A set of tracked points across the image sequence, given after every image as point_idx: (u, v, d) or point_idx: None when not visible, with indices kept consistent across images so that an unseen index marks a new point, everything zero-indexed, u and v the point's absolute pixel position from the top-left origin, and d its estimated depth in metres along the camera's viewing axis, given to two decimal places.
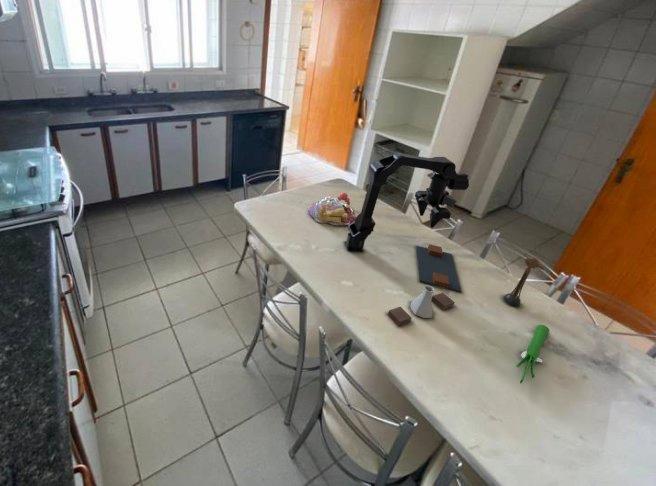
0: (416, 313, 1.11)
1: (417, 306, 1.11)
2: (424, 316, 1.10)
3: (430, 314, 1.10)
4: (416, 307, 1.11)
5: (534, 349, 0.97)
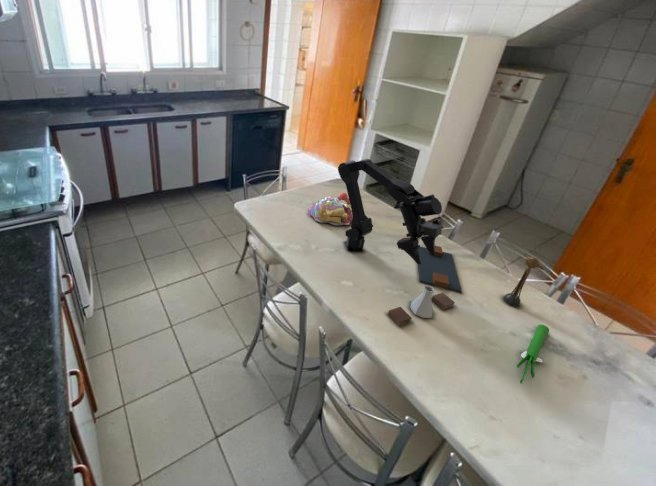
0: (416, 313, 1.11)
1: (417, 306, 1.11)
2: (424, 316, 1.10)
3: (430, 314, 1.10)
4: (416, 307, 1.11)
5: (534, 349, 0.97)
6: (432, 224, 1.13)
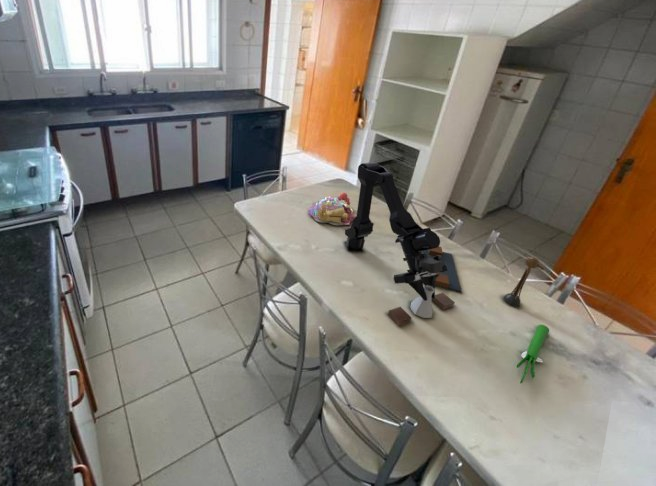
0: (416, 313, 1.11)
1: (417, 306, 1.11)
2: (424, 316, 1.10)
3: (430, 314, 1.10)
4: (416, 307, 1.11)
5: (534, 349, 0.97)
6: (432, 260, 1.07)
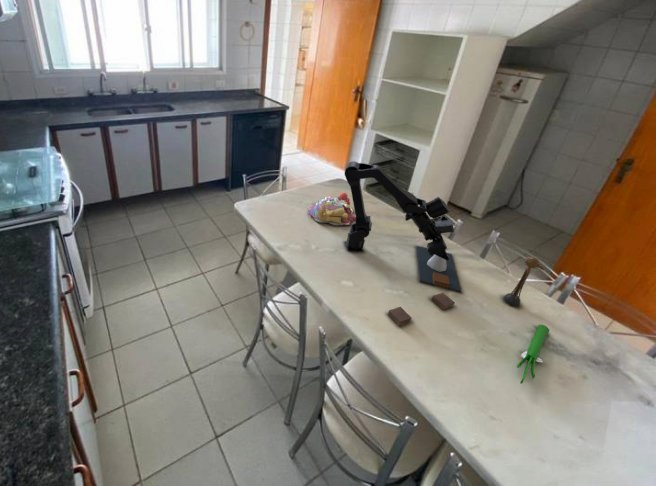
0: (440, 270, 1.30)
1: (439, 264, 1.30)
2: (445, 269, 1.31)
3: (446, 265, 1.32)
4: (439, 265, 1.30)
5: (534, 349, 0.97)
6: (443, 221, 1.27)
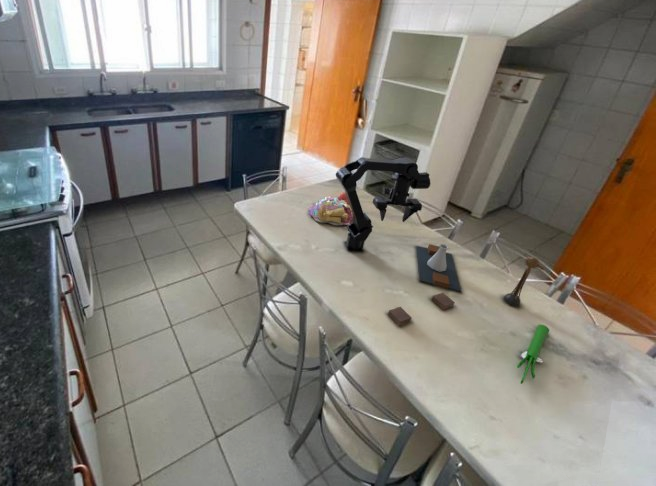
0: (440, 270, 1.30)
1: (439, 264, 1.30)
2: (445, 269, 1.31)
3: (446, 265, 1.32)
4: (439, 265, 1.30)
5: (534, 349, 0.97)
6: (391, 189, 1.40)
